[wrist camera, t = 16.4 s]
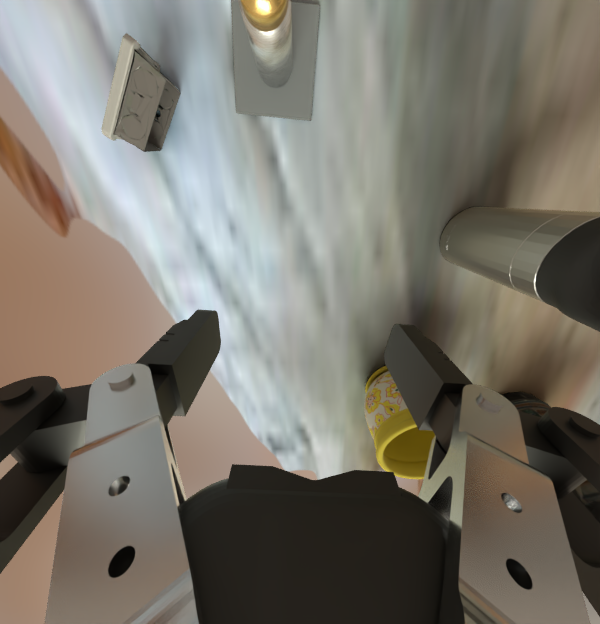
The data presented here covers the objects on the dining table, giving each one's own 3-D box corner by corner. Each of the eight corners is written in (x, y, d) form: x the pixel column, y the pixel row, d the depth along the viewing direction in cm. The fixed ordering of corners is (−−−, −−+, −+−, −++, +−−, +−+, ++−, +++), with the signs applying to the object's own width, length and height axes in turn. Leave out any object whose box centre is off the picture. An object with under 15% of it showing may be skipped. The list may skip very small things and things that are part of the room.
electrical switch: (155, 61, 27) (102, 11, 19) (195, 95, 29) (163, 62, 21) (133, 137, 31) (81, 122, 23) (170, 163, 33) (134, 158, 25)
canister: (294, 40, 26) (293, -71, 15) (290, 90, 28) (287, 23, 17) (257, 34, 26) (229, -85, 15) (256, 84, 28) (231, 12, 17)
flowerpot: (368, 348, 48) (398, 414, 33) (445, 357, 49) (507, 425, 34) (348, 403, 56) (365, 476, 41) (414, 410, 57) (453, 483, 43)
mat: (319, 9, 25) (319, 5, 25) (310, 120, 30) (310, 119, 29) (232, -2, 25) (230, -6, 24) (237, 113, 29) (236, 111, 29)
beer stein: (526, 430, 61) (655, 563, 39) (454, 434, 62) (540, 566, 40) (551, 387, 53) (730, 523, 31) (469, 393, 54) (585, 529, 32)
